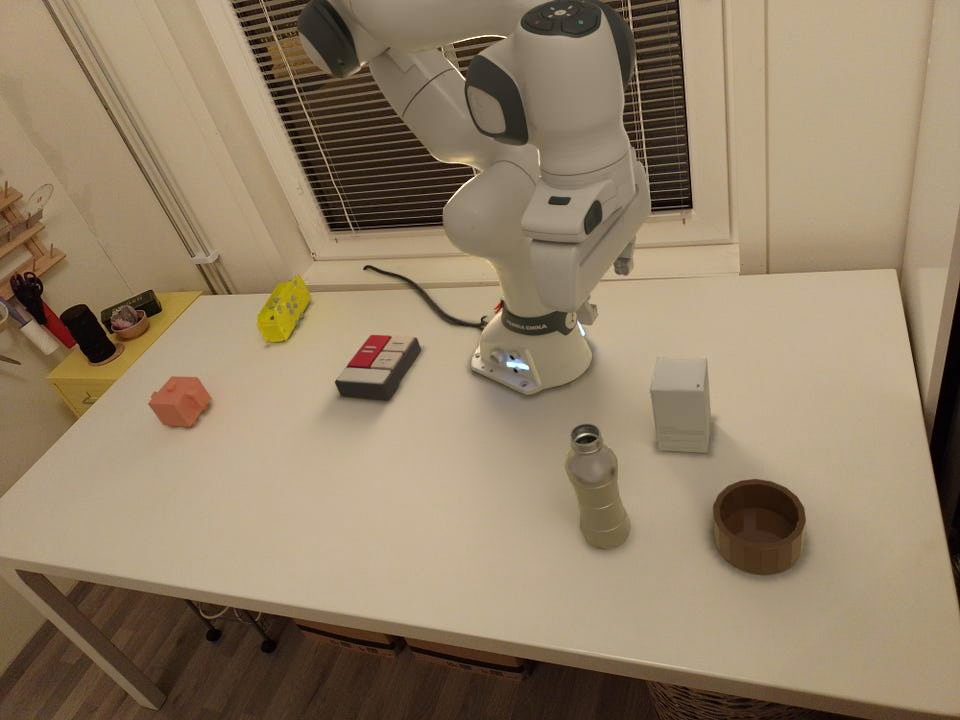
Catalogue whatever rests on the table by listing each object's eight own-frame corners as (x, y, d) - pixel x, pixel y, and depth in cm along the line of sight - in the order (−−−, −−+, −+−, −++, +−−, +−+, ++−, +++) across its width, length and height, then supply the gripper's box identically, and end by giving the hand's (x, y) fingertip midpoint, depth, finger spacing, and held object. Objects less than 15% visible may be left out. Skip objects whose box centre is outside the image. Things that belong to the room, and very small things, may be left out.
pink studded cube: (176, 400, 146) (156, 371, 141) (222, 402, 142) (202, 372, 137) (154, 428, 141) (131, 398, 136) (200, 431, 136) (179, 400, 131)
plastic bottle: (631, 555, 93) (612, 453, 81) (580, 554, 95) (554, 455, 83) (632, 515, 98) (615, 413, 85) (583, 515, 100) (560, 415, 87)
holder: (702, 557, 90) (700, 531, 87) (730, 495, 96) (729, 469, 93) (789, 588, 84) (791, 561, 81) (813, 520, 90) (815, 493, 87)
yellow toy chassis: (289, 343, 153) (273, 313, 148) (266, 345, 154) (250, 315, 149) (314, 300, 165) (300, 270, 159) (293, 302, 166) (278, 273, 161)
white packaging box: (712, 418, 108) (709, 356, 100) (708, 454, 102) (704, 392, 95) (662, 415, 110) (656, 354, 103) (656, 451, 105) (649, 389, 98)
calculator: (416, 333, 137) (382, 383, 127) (422, 351, 140) (389, 401, 129) (369, 332, 142) (332, 379, 131) (376, 349, 144) (339, 396, 134)
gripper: (603, 134, 77) (619, 243, 86) (510, 232, 65) (539, 346, 74) (658, 134, 74) (669, 247, 82) (570, 238, 62) (593, 357, 70)
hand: (607, 295), depth 78 cm, fingers open, 8 cm apart
